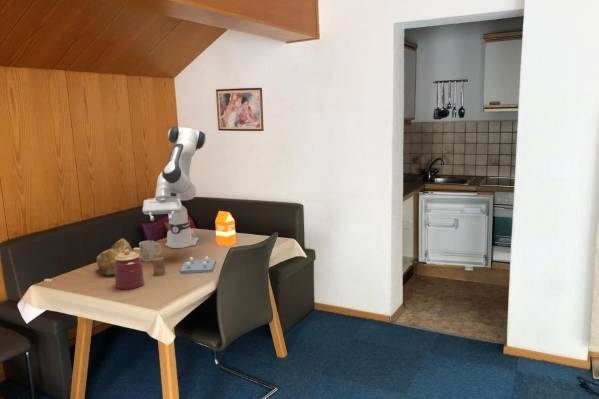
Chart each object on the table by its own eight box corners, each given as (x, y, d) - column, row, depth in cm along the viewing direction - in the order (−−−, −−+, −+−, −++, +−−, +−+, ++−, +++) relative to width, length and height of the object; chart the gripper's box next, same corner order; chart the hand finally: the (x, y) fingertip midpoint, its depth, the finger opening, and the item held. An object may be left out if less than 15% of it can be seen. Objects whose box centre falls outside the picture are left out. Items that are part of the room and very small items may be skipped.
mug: (137, 260, 281) (136, 243, 279) (157, 255, 290) (156, 238, 288) (145, 263, 275) (144, 245, 273) (165, 257, 284) (164, 240, 282)
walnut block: (156, 272, 258) (154, 257, 257) (165, 272, 258) (163, 257, 257) (154, 275, 254) (152, 260, 252) (163, 275, 254) (161, 260, 253)
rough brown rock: (110, 264, 279) (105, 238, 276) (138, 262, 276) (133, 235, 273) (87, 280, 256) (81, 252, 253) (117, 277, 253) (111, 249, 250)
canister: (144, 287, 237) (140, 251, 234) (114, 291, 234) (110, 254, 231) (144, 279, 250) (140, 244, 246) (116, 282, 246) (112, 247, 243)
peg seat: (185, 263, 271) (185, 255, 270) (215, 262, 272) (215, 254, 271) (180, 273, 255) (179, 265, 255) (212, 272, 256) (211, 263, 255)
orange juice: (225, 241, 314) (223, 209, 310) (236, 243, 309) (234, 211, 305) (216, 244, 307) (214, 212, 304) (227, 246, 302) (225, 213, 299)
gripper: (142, 195, 269) (139, 217, 261) (181, 193, 270) (179, 215, 262) (145, 202, 274) (142, 223, 266) (183, 200, 275) (181, 222, 267)
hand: (161, 219), depth 264 cm, fingers open, 8 cm apart
